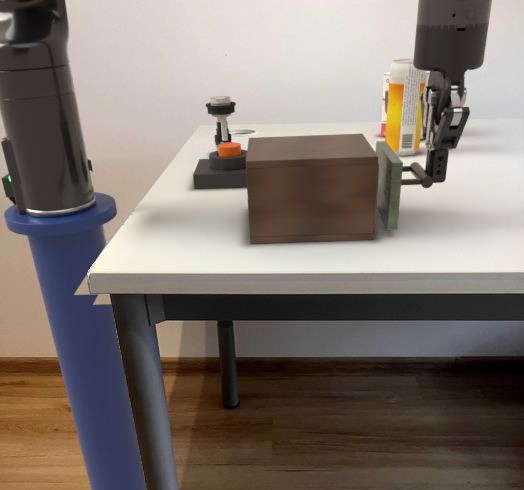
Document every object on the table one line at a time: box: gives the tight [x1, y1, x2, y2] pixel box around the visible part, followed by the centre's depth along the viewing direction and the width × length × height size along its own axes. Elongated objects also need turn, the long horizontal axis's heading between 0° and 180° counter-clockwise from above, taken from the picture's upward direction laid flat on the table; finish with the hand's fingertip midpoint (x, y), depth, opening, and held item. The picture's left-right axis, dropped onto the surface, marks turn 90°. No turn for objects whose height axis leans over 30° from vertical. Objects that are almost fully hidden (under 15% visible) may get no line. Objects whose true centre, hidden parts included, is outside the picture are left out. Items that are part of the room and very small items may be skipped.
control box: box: [192, 148, 247, 190], centre depth 94 cm, size 11×10×4 cm
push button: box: [205, 95, 237, 152], centre depth 107 cm, size 7×5×10 cm
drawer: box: [374, 140, 434, 231], centre depth 73 cm, size 18×11×8 cm, turn 90°
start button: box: [218, 141, 242, 157], centre depth 93 cm, size 4×4×2 cm
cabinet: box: [246, 133, 378, 245], centre depth 73 cm, size 15×13×10 cm
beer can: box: [384, 58, 427, 157], centre depth 103 cm, size 6×6×15 cm
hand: (434, 181), depth 73 cm, fingers closed
